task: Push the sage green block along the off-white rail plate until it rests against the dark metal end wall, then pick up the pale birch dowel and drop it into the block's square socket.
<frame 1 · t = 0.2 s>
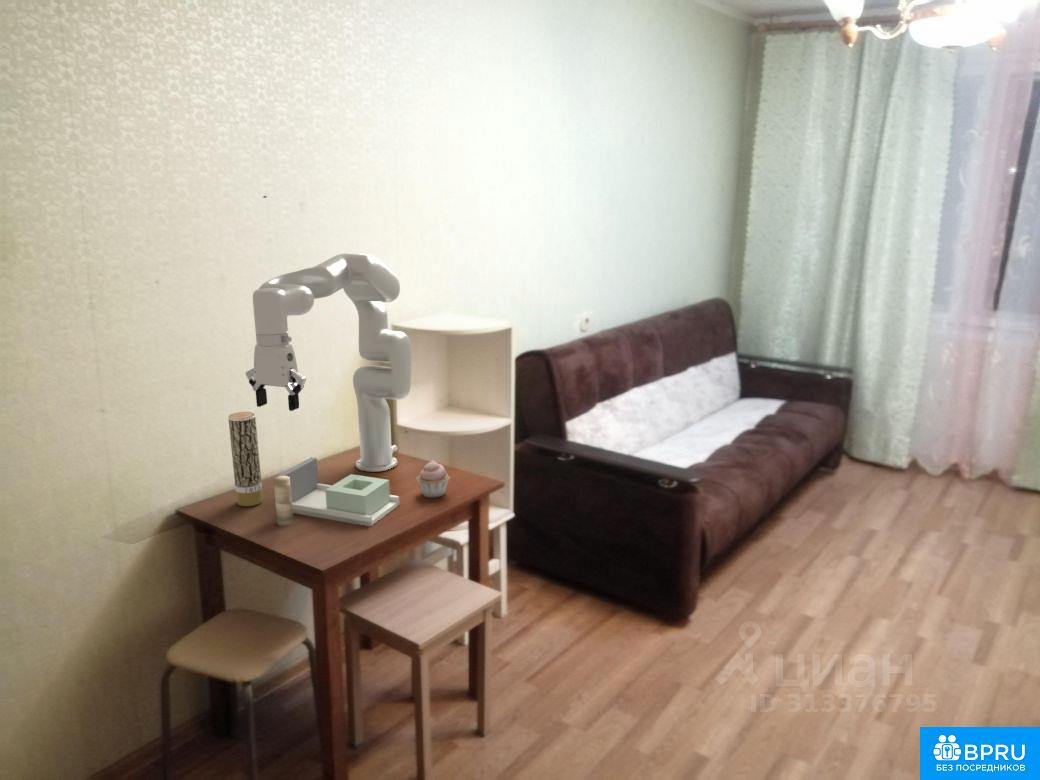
hand: (278, 407, 195), 31 cm above the table, tool pointing down, fingers open, 9 cm apart
cupcake: (433, 494, 221), on the table
dowel: (285, 522, 203), on the table
rail base: (340, 507, 212), on the table
slide block: (358, 495, 208), point 4 cm above the table, slide at 0.0 cm
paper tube: (250, 503, 215), on the table
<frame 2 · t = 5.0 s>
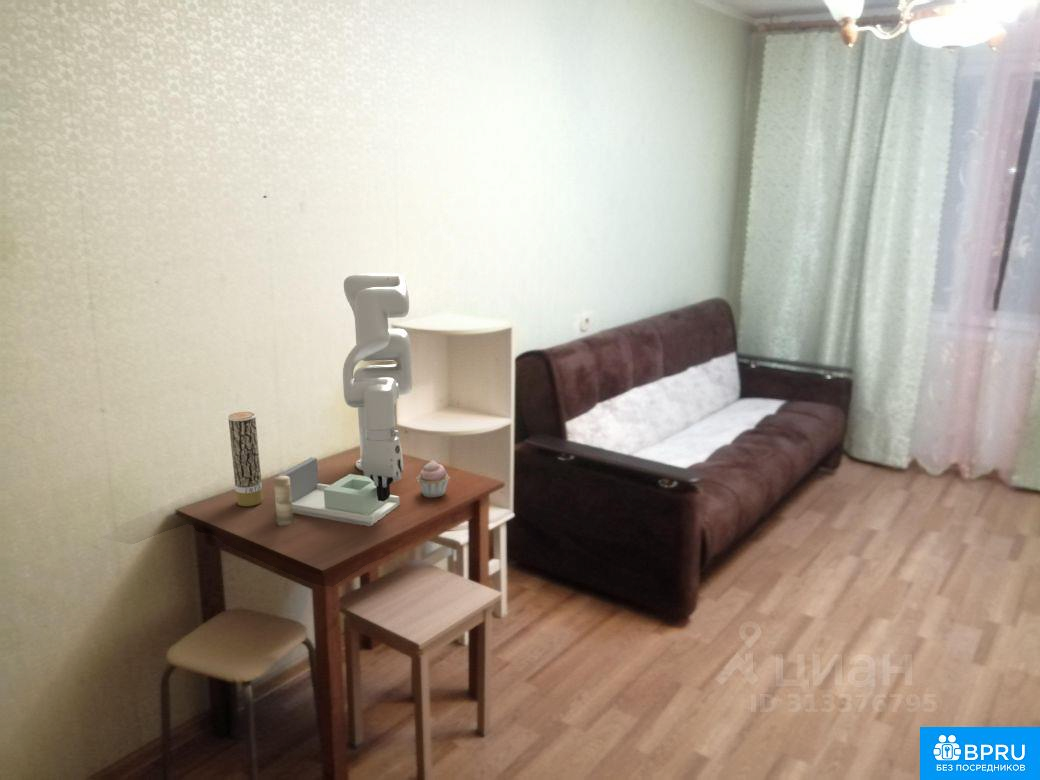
hand: (383, 499, 206), 5 cm above the table, tool pointing down, fingers closed
slide block: (356, 494, 209), point 4 cm above the table, slide at 0.5 cm, touching gripper
everything else where it was.
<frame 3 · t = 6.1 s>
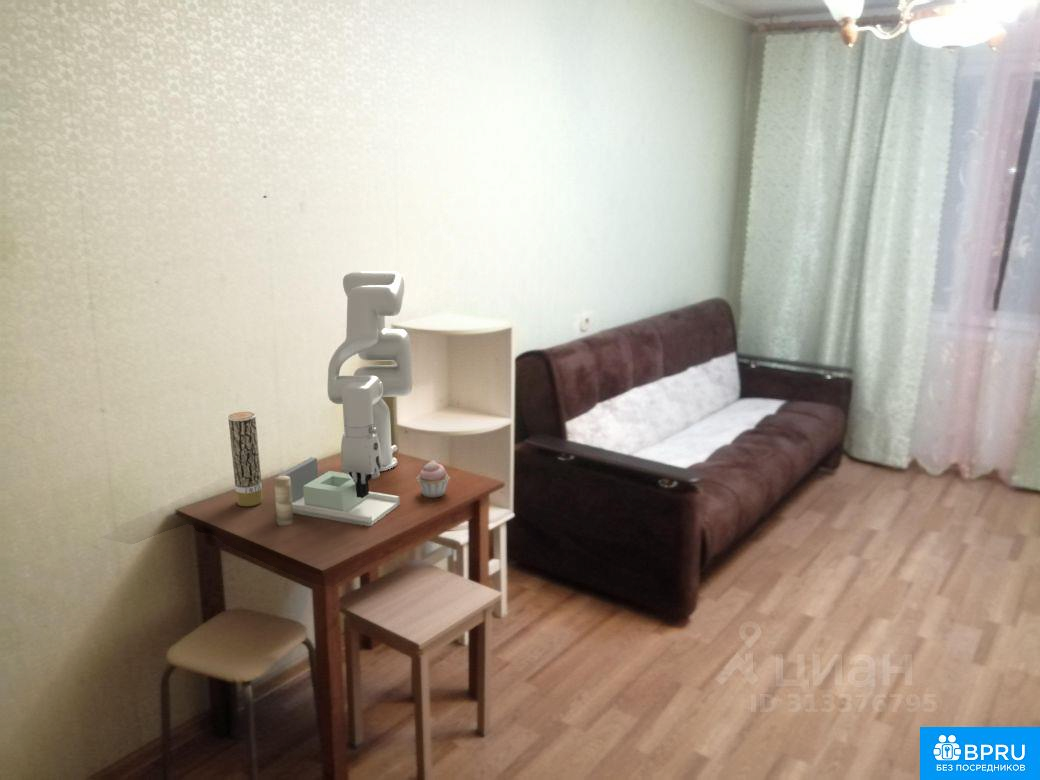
hand: (362, 495, 208), 5 cm above the table, tool pointing down, fingers closed
slide block: (336, 491, 211), point 4 cm above the table, slide at 7.0 cm, touching gripper
everything else where it was.
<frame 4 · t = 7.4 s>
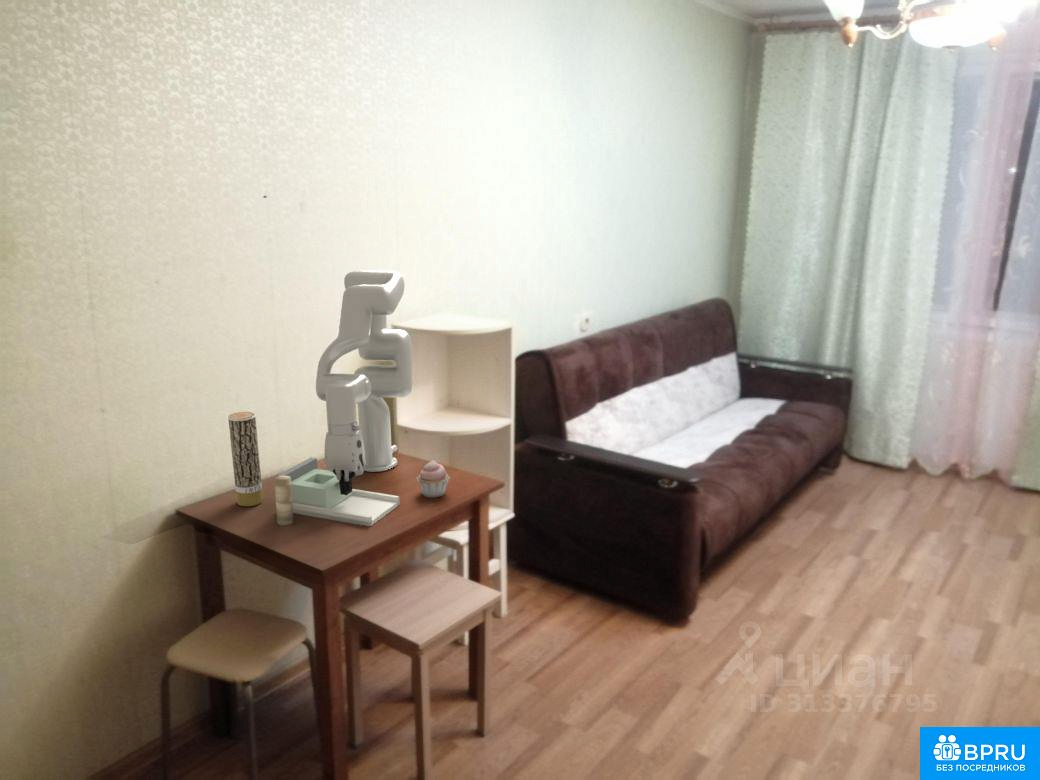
hand: (346, 493, 210), 5 cm above the table, tool pointing down, fingers closed
slide block: (320, 489, 213), point 4 cm above the table, slide at 12.0 cm, touching gripper
everything else where it was.
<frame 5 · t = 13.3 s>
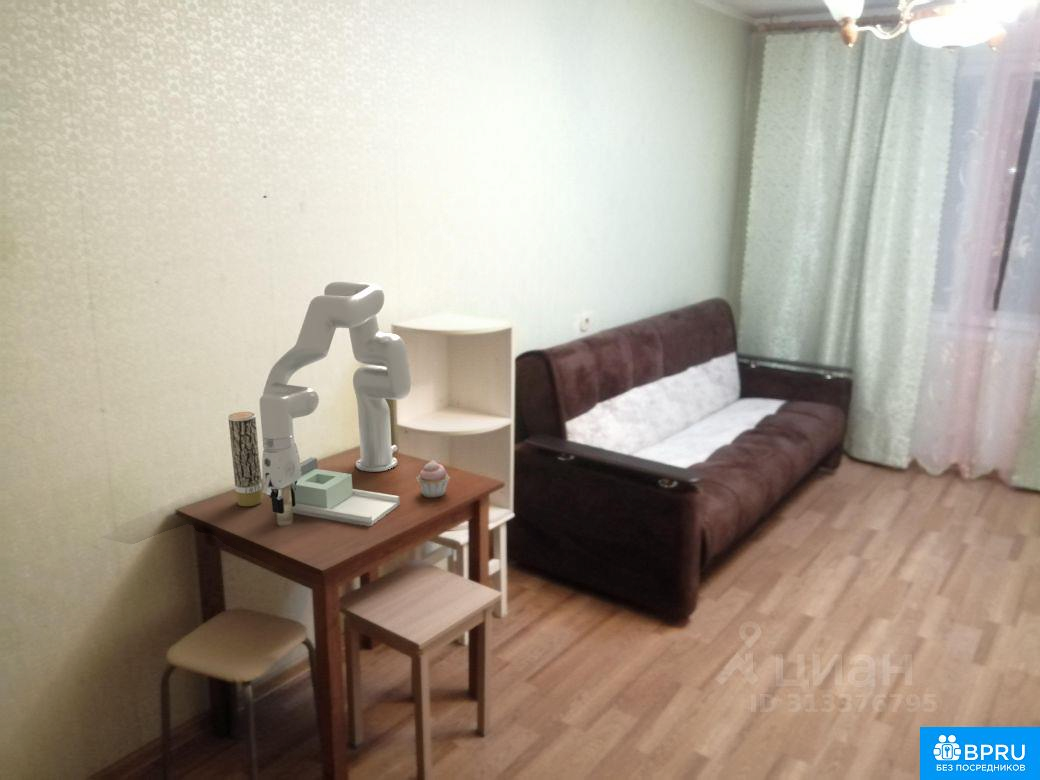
hand: (284, 508, 202), 4 cm above the table, tool pointing down, fingers closed on dowel, 4 cm apart
dowel: (285, 522, 203), on the table, touching gripper
slide block: (320, 489, 213), point 4 cm above the table, slide at 11.8 cm
everything else where it was.
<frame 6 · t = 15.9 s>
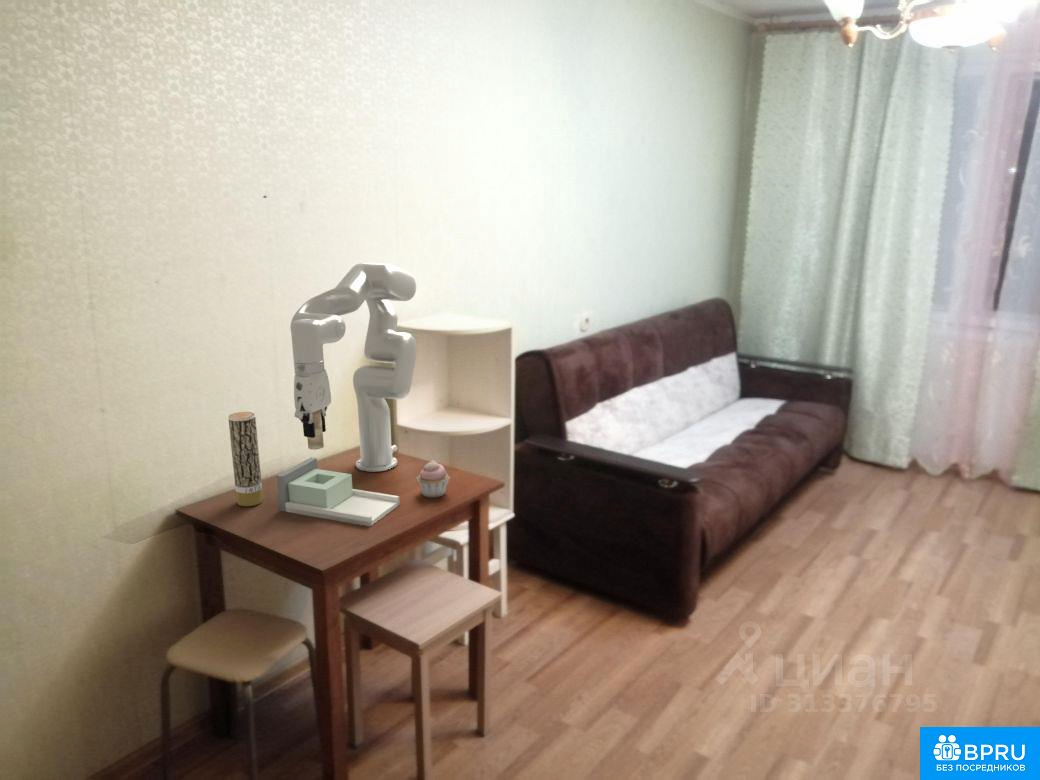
hand: (314, 433, 208), 21 cm above the table, tool pointing down, fingers closed on dowel, 3 cm apart
dowel: (316, 446, 209), point 17 cm above the table, touching gripper
everything else where it was.
when the fingers open (9 cm above the table, at t = 18.7 s): dowel drops 1 cm, resting on slide block.
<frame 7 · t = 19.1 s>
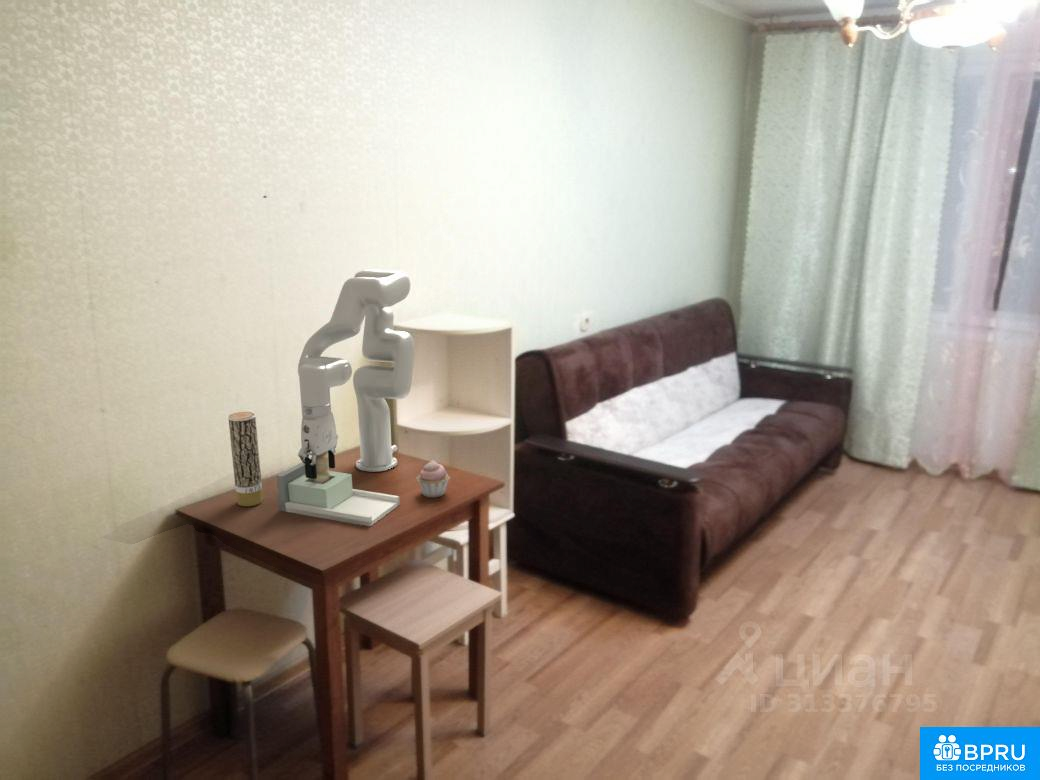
hand: (320, 472, 211), 9 cm above the table, tool pointing down, fingers open, 7 cm apart
dowel: (322, 492, 213), point 4 cm above the table, touching slide block
slide block: (320, 489, 213), point 4 cm above the table, slide at 11.8 cm, touching dowel
everything else where it was.
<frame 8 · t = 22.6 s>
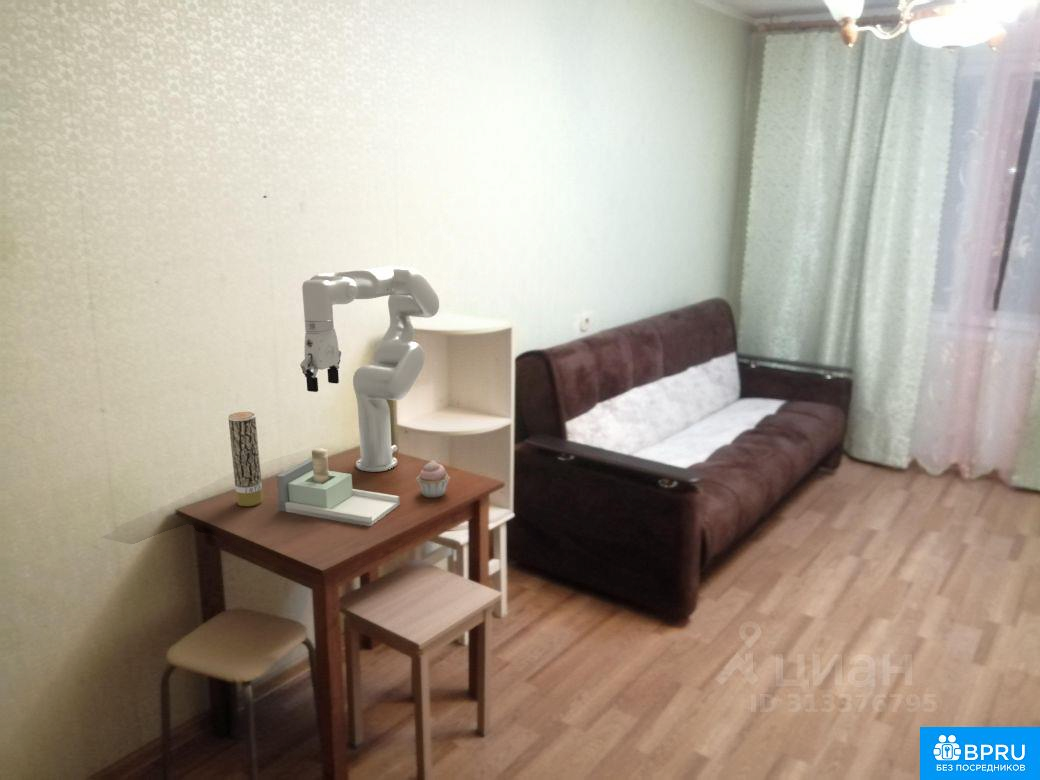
hand: (323, 387, 216), 30 cm above the table, tool pointing down, fingers open, 9 cm apart
nothing on the table moved.
at the end: slide block slide at 11.8 cm; dowel 0.0 cm from the target spot, point 3.5 cm above the table; dowel tilted 1° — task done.
